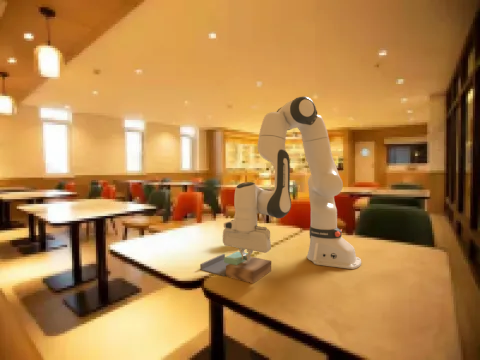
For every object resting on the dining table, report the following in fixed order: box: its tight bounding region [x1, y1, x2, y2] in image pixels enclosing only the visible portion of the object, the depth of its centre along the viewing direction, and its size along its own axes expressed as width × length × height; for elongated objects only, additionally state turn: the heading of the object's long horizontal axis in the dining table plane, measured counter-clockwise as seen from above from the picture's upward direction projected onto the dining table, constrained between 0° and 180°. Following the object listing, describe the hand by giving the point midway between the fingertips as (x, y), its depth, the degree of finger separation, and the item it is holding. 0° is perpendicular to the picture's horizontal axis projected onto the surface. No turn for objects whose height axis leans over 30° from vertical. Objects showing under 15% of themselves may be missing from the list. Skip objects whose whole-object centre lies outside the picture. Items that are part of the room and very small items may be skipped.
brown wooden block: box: [226, 256, 272, 284], centre depth 107 cm, size 12×14×4 cm
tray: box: [199, 253, 228, 277], centre depth 114 cm, size 12×15×2 cm
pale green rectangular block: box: [224, 251, 248, 265], centre depth 110 cm, size 6×9×2 cm, turn 146°
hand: (246, 259), depth 107 cm, fingers closed
